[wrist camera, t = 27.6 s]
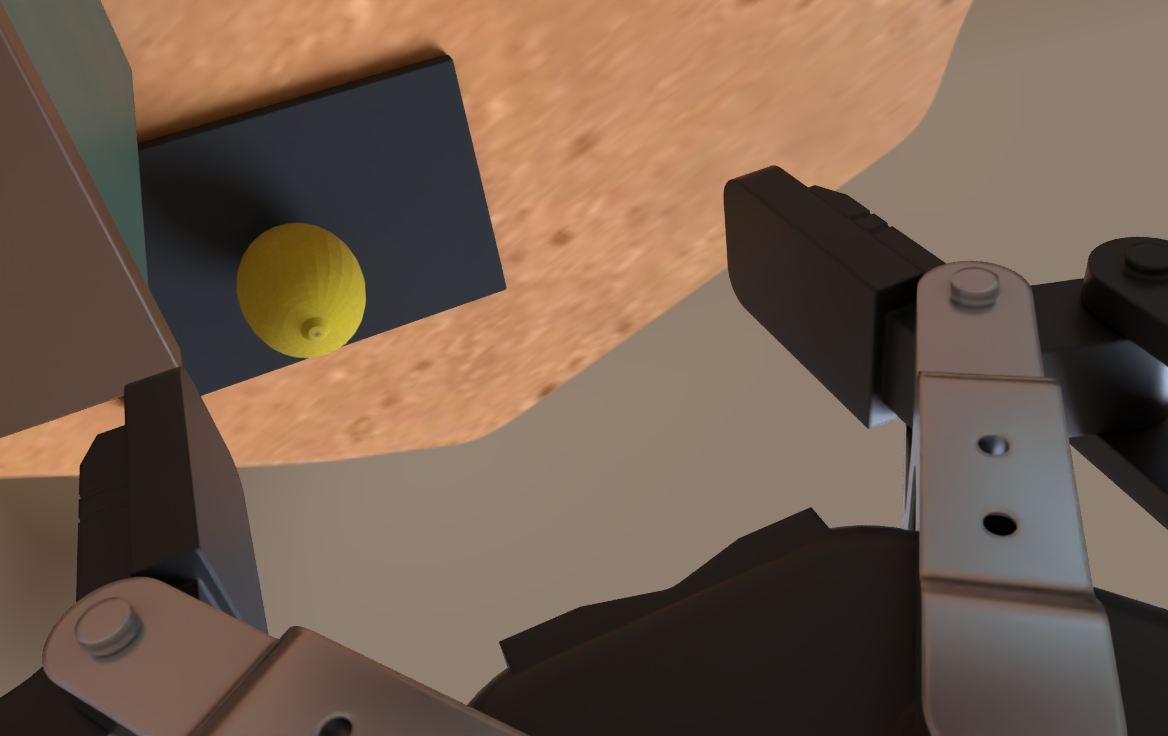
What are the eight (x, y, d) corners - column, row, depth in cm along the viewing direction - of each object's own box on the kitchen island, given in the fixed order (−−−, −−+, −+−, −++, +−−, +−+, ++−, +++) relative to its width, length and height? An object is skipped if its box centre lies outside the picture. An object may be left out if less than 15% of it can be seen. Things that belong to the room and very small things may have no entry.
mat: (448, 53, 45) (452, 58, 45) (502, 282, 53) (507, 289, 53) (2, 182, 41) (1, 190, 40) (135, 410, 49) (135, 419, 49)
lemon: (227, 300, 47) (246, 392, 41) (229, 194, 44) (249, 275, 38) (342, 299, 49) (376, 385, 43) (351, 198, 47) (388, 275, 40)
